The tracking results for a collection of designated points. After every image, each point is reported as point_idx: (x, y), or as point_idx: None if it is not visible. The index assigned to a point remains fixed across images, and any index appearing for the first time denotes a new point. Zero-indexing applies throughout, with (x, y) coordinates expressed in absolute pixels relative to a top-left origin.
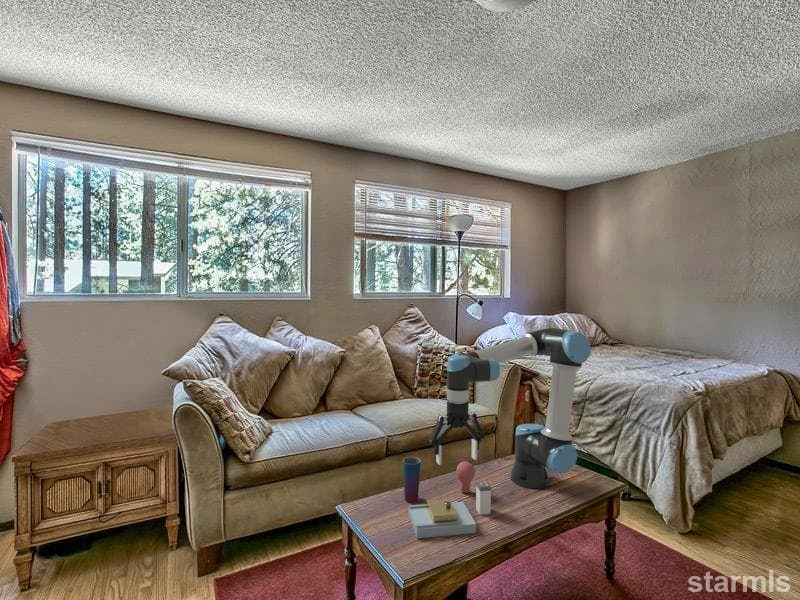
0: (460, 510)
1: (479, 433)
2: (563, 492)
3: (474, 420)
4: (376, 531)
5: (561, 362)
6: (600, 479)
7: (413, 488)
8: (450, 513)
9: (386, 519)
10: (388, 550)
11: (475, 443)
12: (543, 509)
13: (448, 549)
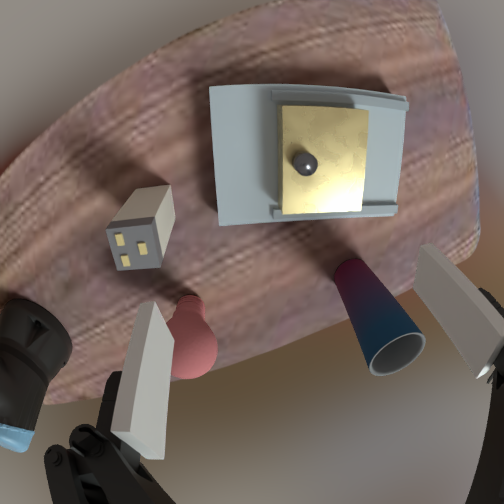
0: (242, 173)
1: (83, 500)
2: None
3: None
4: (459, 150)
5: None
6: None
7: (369, 281)
8: (306, 113)
9: (431, 192)
10: (451, 76)
11: (130, 417)
12: (7, 211)
13: (320, 28)
